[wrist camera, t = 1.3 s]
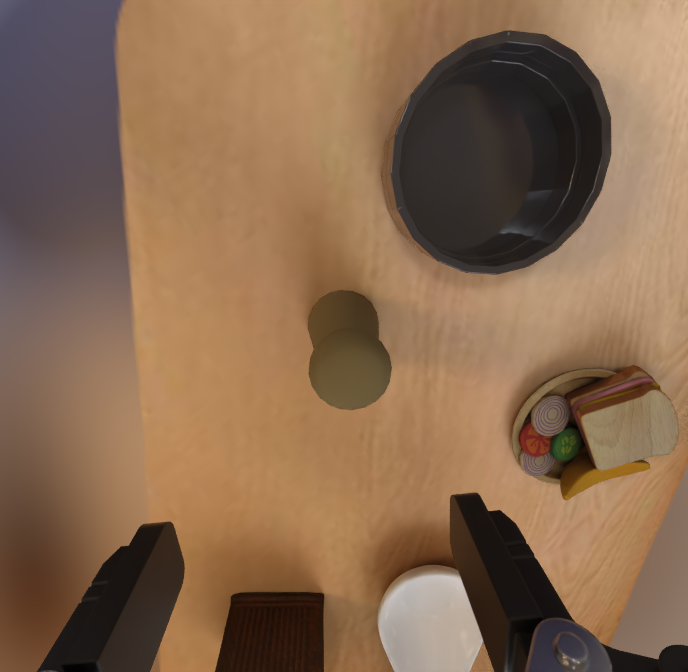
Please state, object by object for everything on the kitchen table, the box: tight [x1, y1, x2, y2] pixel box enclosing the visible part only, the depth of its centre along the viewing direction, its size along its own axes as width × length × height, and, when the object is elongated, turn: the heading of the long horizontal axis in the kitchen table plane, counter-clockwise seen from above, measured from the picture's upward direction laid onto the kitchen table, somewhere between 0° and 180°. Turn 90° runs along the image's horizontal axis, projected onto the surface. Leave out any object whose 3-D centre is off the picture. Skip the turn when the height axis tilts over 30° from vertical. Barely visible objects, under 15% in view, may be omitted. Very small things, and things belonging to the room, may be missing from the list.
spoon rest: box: [378, 565, 483, 672], centre depth 43 cm, size 24×12×7 cm, turn 0°
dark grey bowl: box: [381, 31, 611, 275], centre depth 27 cm, size 14×14×5 cm
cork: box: [308, 290, 392, 410], centre depth 28 cm, size 6×6×11 cm
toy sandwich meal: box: [512, 365, 679, 500], centre depth 36 cm, size 12×14×5 cm
